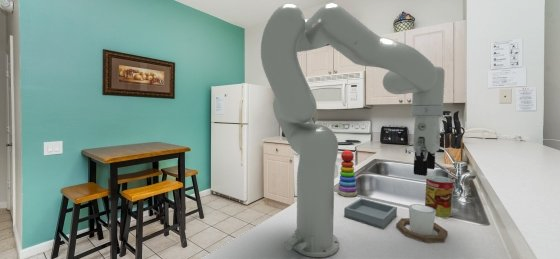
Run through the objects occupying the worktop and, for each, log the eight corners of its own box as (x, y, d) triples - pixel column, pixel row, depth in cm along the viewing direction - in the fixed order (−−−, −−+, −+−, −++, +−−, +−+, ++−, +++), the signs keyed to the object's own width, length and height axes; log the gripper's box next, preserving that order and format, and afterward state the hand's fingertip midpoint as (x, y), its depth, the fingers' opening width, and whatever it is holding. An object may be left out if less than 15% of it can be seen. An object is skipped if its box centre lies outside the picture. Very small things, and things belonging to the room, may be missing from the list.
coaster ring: (441, 247, 63) (442, 243, 63) (391, 231, 72) (392, 227, 71) (449, 230, 72) (449, 226, 72) (404, 218, 81) (404, 214, 81)
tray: (382, 229, 73) (383, 219, 73) (344, 216, 82) (344, 207, 81) (396, 215, 82) (396, 207, 82) (360, 205, 91) (360, 198, 91)
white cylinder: (421, 238, 68) (422, 214, 67) (402, 227, 74) (403, 204, 74) (440, 235, 70) (442, 211, 69) (420, 224, 76) (422, 202, 76)
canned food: (421, 207, 90) (422, 175, 89) (444, 209, 88) (446, 176, 88) (430, 216, 82) (432, 181, 81) (456, 218, 81) (458, 182, 80)
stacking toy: (355, 191, 107) (356, 149, 106) (359, 197, 100) (360, 152, 98) (336, 190, 108) (337, 148, 107) (339, 197, 100) (340, 151, 99)
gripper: (436, 112, 60) (433, 180, 62) (448, 111, 73) (445, 168, 75) (403, 112, 65) (401, 175, 67) (419, 111, 78) (417, 164, 80)
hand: (424, 171), depth 71 cm, fingers open, 9 cm apart
